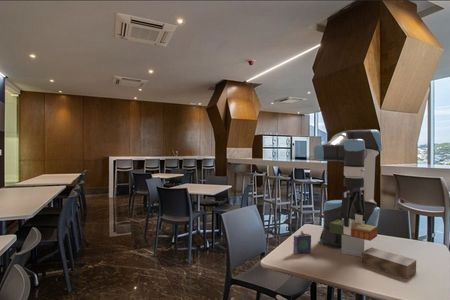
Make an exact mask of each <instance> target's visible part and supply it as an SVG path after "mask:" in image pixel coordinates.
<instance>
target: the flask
mask: <svg viewBox="0 0 450 300" xmlns="http://www.w3.org/2000/svg"><path fill="white" fill-rule="evenodd" d="M311 247H312V235H311V234H310V233H304V231H303V230H300V234H295V235H293V252H292V254H293V255H297V256H299V255H309V254H312V253H311V251H312V249H311Z"/></svg>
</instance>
